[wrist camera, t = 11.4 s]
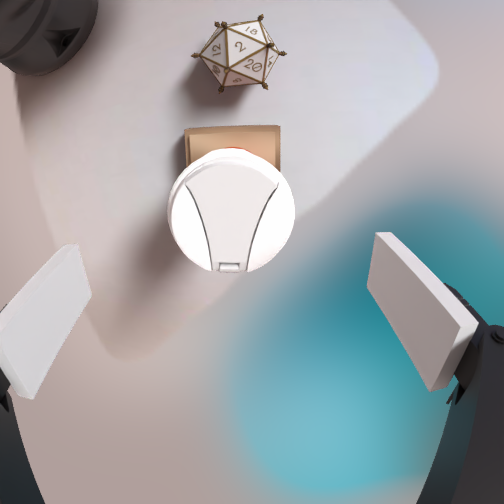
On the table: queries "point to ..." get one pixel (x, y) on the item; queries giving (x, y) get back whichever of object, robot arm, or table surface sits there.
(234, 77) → the game die
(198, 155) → the plinth
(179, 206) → the coffee cup
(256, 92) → the table surface
